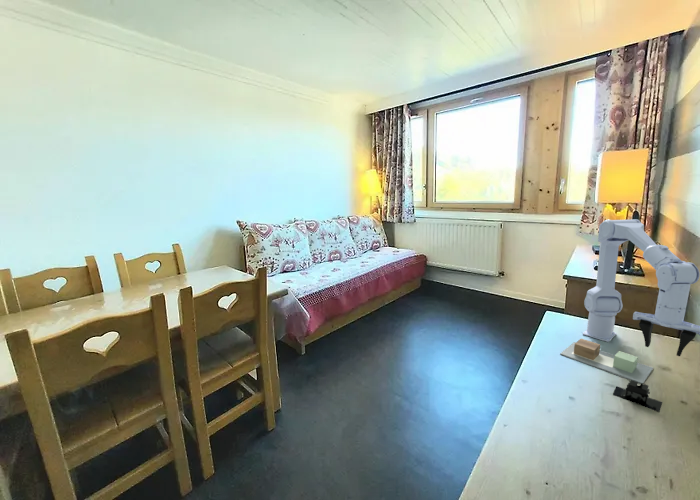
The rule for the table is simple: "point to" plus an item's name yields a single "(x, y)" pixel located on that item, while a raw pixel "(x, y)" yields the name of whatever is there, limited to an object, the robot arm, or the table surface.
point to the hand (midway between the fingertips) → (662, 350)
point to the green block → (625, 361)
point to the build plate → (610, 365)
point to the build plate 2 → (638, 395)
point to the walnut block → (587, 349)
